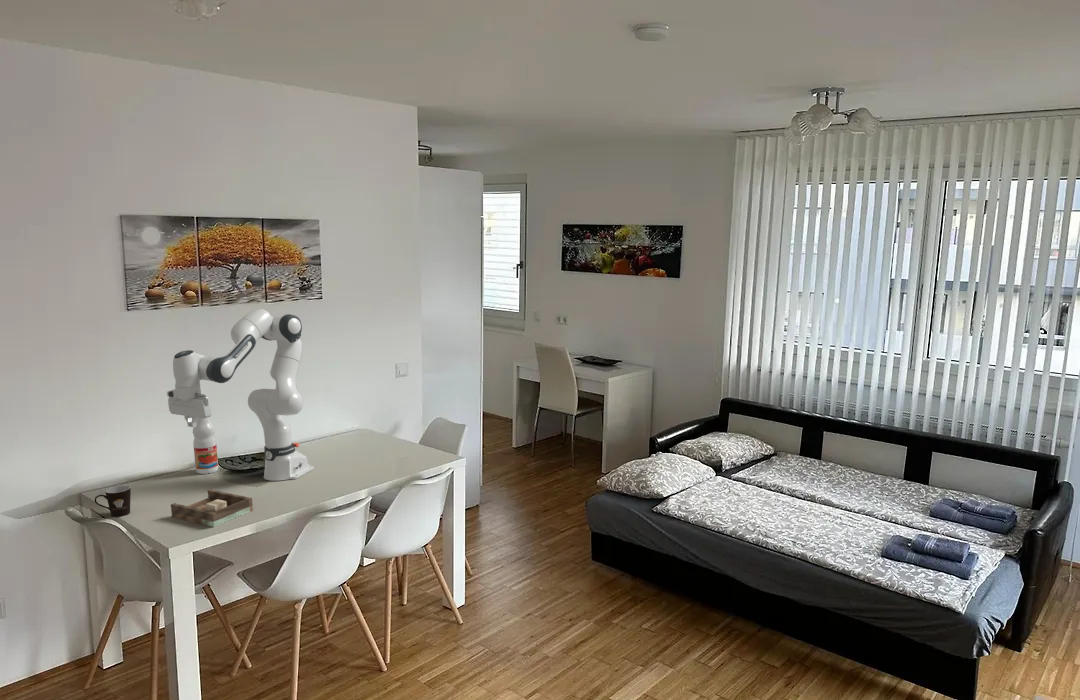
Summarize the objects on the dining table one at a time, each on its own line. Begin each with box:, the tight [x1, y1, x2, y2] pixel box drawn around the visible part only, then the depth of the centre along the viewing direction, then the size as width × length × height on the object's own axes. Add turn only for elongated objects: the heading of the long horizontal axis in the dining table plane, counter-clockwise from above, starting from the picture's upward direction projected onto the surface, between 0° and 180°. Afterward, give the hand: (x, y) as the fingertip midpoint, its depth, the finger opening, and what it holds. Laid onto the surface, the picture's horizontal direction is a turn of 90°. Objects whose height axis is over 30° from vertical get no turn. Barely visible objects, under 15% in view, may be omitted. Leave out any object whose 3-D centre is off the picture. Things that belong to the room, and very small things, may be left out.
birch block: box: [206, 499, 227, 512], centre depth 276 cm, size 5×5×5 cm
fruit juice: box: [192, 417, 219, 475], centre depth 332 cm, size 9×9×28 cm
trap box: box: [170, 489, 254, 528], centre depth 283 cm, size 23×18×5 cm
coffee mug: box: [94, 484, 132, 518], centre depth 283 cm, size 12×9×10 cm
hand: (192, 426), depth 291 cm, fingers closed
